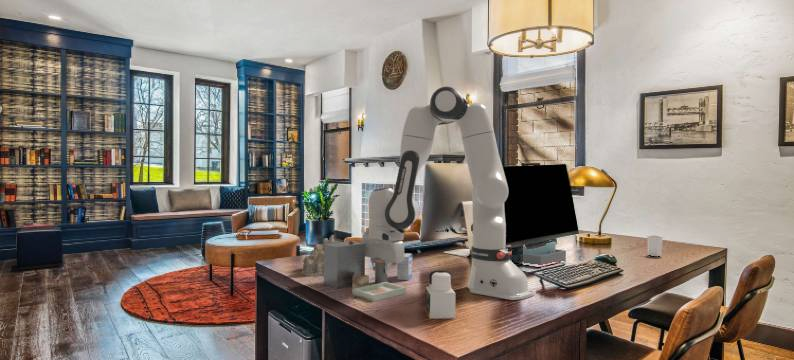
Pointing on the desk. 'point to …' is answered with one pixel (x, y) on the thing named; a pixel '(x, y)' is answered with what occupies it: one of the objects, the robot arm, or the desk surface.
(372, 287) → the tray
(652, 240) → the drinking glass
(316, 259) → the ceramic cottage
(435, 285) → the medicine bottle
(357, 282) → the maple block
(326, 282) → the console
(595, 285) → the desk surface
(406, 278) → the medicine box
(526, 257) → the organizer bin
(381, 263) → the cartridge
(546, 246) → the squiggly pen holder
